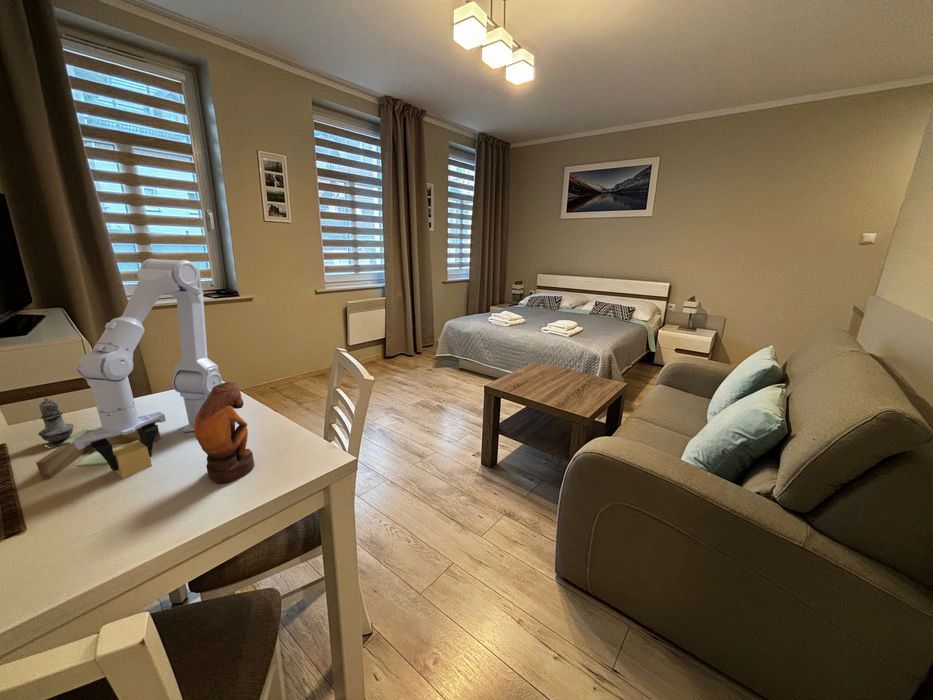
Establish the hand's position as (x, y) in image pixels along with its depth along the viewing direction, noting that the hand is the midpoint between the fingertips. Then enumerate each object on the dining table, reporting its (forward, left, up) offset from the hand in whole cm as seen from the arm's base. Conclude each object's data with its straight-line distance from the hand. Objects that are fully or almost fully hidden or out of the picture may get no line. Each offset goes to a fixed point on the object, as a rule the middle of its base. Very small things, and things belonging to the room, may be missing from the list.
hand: (131, 462), depth 81 cm
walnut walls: (+8, -6, -1) cm, 10 cm away
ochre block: (0, 0, -2) cm, 2 cm away
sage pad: (+8, -7, -1) cm, 11 cm away
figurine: (-21, +5, -2) cm, 22 cm away
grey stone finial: (+23, -15, -2) cm, 28 cm away
